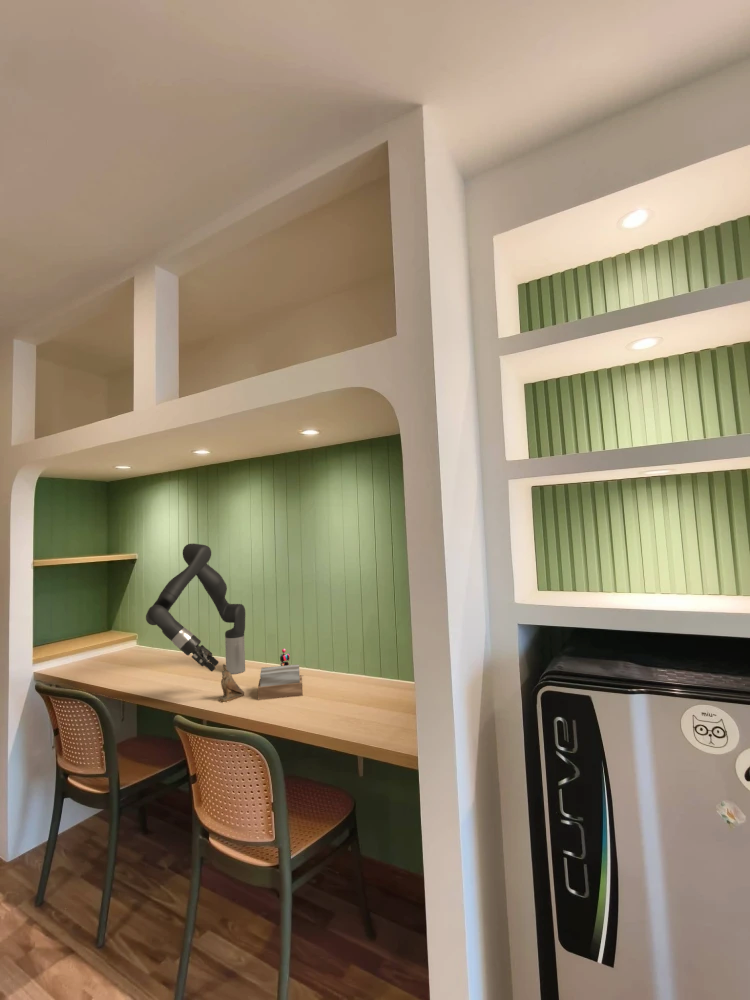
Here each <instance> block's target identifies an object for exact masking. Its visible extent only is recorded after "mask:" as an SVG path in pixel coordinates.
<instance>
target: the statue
mask: <svg viewBox="0 0 750 1000" xmlns="http://www.w3.org/2000/svg"><path fill="white" fill-rule="evenodd" d="M281 652H282V654H280V655H279V659H280V662H281V663H280V666H287V665H290V663H289V662H288V661H290V653H286V648H282V649H281ZM301 675H302V674H301ZM302 677H304V675H302Z"/></svg>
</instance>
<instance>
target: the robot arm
mask: <svg viewBox="0 0 750 1000" xmlns="http://www.w3.org/2000/svg"><path fill="white" fill-rule="evenodd" d="M211 557H212V550H211V548H210V547H209V546H208V545H206V544H202V543H201V544H200V543H188V544H186V545H185V546H184V547H183V548H182V558H183V560H184V562H185V563H186V564H187V566H186V567H185V568H184V569H183V570H182V571H181V572H180V573H178V574H177V575H175V576H174V577H173V578H171V580H169V581H168V583H166V585H165V586H164V587H163V589H162V591H161V592H160V593H159V596H158V597H157V599H156V600H155V602H154V603H153V605H152V606H150V607H149V608H148V610H147V612H146V615H145V620H146V622H147V624H148V625H151V626H157V627H158V628H159V629H161V632H162V634H163V635H164V636H165V637H166V638H167V639H169V640H170V641H171V642H172V643H173V644H174V646H175V647H177V648H178V649H179V650H180V651H182V653H183V654H185V655H186V656H188V657H189V656H190V655H191V654H192V655H191V658H192V659H193V660H194V661H195V662H196V663H197V664H199V666H201V667H206V669H208V670H209V671H210V672H213V671H215V670H216V666H217V665H219V660H217V659H216V658H215V657H214V656H213V653H212V652H211V651H210V650H209V649H208V648H207V647H205V646H204V645H203V644H202V645H200V644H201V642H202V641H201V640H200V639H199V637H197V636H196V635H195V634H194V633H192V632H191V631H190V630H189V629H187V628H186V627H185V626H184V625H182V624H181V623H180V622H178V621H177V620H176V618H174V616H173V615H172V614H171V612H170V609H171V608H172V607H173V605H175V603H176V601H177V600H178V599H179V597H180V595H181V594H182V592H183V591H184V589H186V587H187V586H188V585H189V584H190V583H191V581H193V579H194V578H195V577H196V578H198V581H199V582H200V583H201V585H202V586H203V588H204V590H205V591H206V592H207V594H208V596H209V597H210V599H211V600H212V602H213V604H214V605H215V608H216V610H217V612H218V614H219V616H220V618H221V619H222V621H223V622H224V623H227V624H228V623H229V624H233V627H232V628H230V629H228V630H226V631H225V632H224V637H225V640H224V645H225V665H226V668H227V670H228V671H229V672H230V673H231V675H234V674H241V673H243V672H245V671H246V650H245V647H246V646H245V631H246V609H245V606H244V605H243V604H242V603H229V602H228V600H227V598H226V594H227V591H228V590H227V589H228V586H227V584H226V582H225V580H224V579H223V576H222V575H221V574H220V573H219V572H218V571H217V570H216V569H215V568H213V567H212V566H210V565H209V564H208V563H209V561H210V560H211Z"/></svg>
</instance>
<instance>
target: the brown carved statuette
mask: <svg viewBox="0 0 750 1000" xmlns="http://www.w3.org/2000/svg"><path fill="white" fill-rule="evenodd" d="M222 669H223V670H222V672H221V680H220V681H221V682H220V685H221V690H222V692H223V694H222V696H221V697H219V698H218V702H219V701H221V702H220V703H223V702H226V703H228V702H227V701H229V702H231V701H234V700H237V699H240V698H242V697H245V691H244V690H243V689H242V688H241V687H240V686H239V685H238V684H237V682H236V681H235V679H234V678H233V676H232V675H233V674H231V673H230V672H229V671H228V670H227V668H226V663H224V664H222Z"/></svg>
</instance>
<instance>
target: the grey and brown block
mask: <svg viewBox="0 0 750 1000" xmlns="http://www.w3.org/2000/svg"><path fill="white" fill-rule="evenodd" d="M259 677H260V678H259V681H258V686H257V700H258V701H262V700H263V701H265V700H274V699H284V698H291V697H292V698H293V697H303V696H304V694H303V693H304V692H303V676H302V674H300V664H289V665H287V666H281V665H279V666H278V665H277V666H265V667H261V669H260V674H259Z"/></svg>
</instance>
